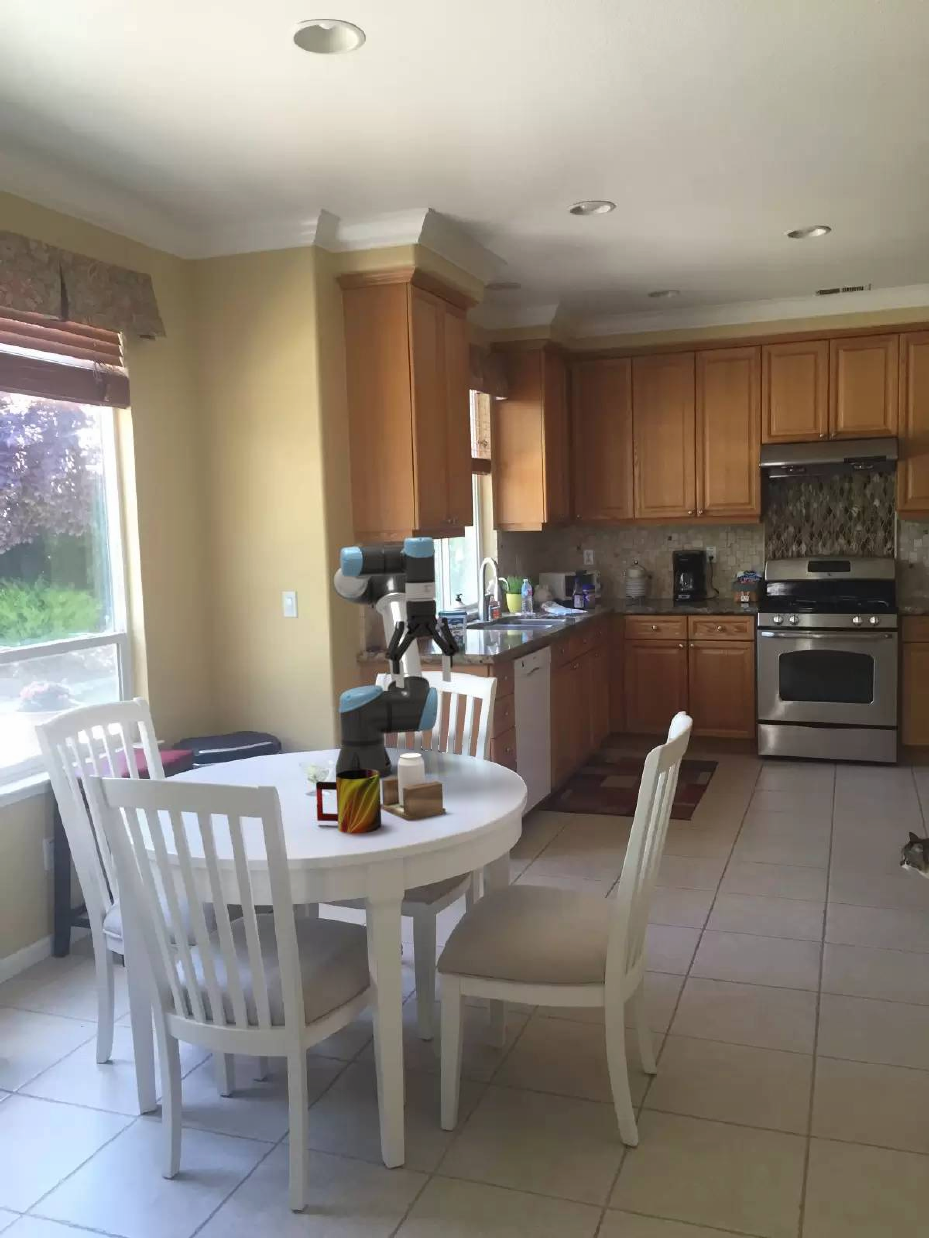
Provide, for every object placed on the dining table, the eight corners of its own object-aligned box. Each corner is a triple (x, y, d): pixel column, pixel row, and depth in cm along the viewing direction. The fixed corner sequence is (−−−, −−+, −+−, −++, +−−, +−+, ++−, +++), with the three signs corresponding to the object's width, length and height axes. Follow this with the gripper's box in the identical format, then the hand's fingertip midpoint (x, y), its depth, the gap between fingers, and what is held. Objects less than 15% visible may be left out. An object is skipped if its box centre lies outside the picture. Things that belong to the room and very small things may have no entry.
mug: (317, 824, 230) (315, 772, 229) (378, 819, 233) (376, 767, 232) (320, 837, 221) (318, 782, 220) (384, 831, 224) (382, 777, 223)
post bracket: (380, 808, 242) (379, 779, 241) (417, 801, 247) (416, 772, 247) (408, 820, 231) (406, 790, 231) (445, 812, 237) (444, 783, 236)
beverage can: (396, 808, 237) (394, 757, 236) (402, 801, 243) (400, 751, 242) (422, 809, 236) (420, 758, 235) (428, 802, 242) (426, 752, 241)
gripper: (384, 603, 245) (387, 691, 247) (471, 597, 258) (473, 680, 260) (369, 602, 251) (372, 687, 253) (455, 596, 264) (457, 677, 266)
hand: (423, 684), depth 256 cm, fingers open, 13 cm apart
